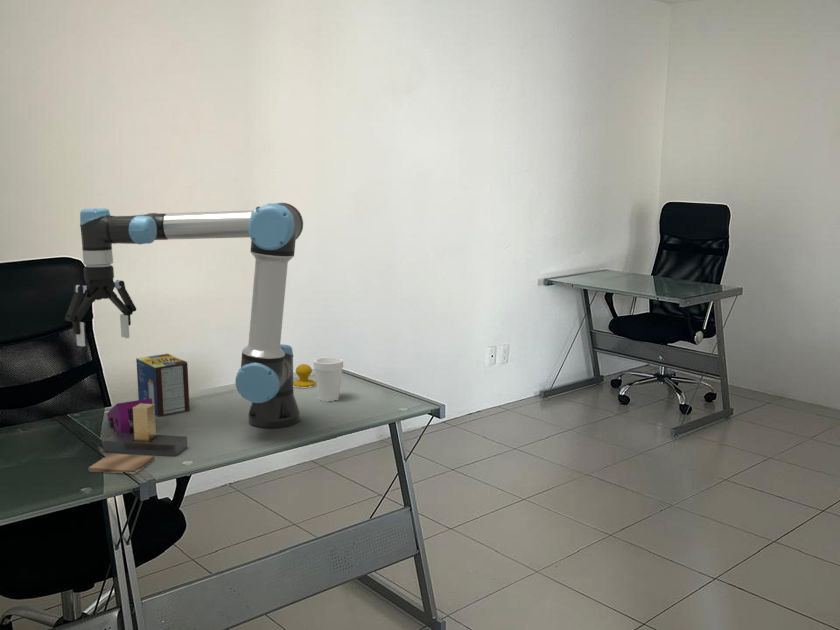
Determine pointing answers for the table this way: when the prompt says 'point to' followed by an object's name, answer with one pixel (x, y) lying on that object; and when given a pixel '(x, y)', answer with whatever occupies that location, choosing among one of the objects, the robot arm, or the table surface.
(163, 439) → the rail
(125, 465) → the walnut pad
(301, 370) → the doorknob
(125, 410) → the mounting bracket
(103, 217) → the robot arm
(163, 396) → the protein box
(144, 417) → the square peg
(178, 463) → the table surface
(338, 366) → the foam cup
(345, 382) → the table surface
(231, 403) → the table surface
